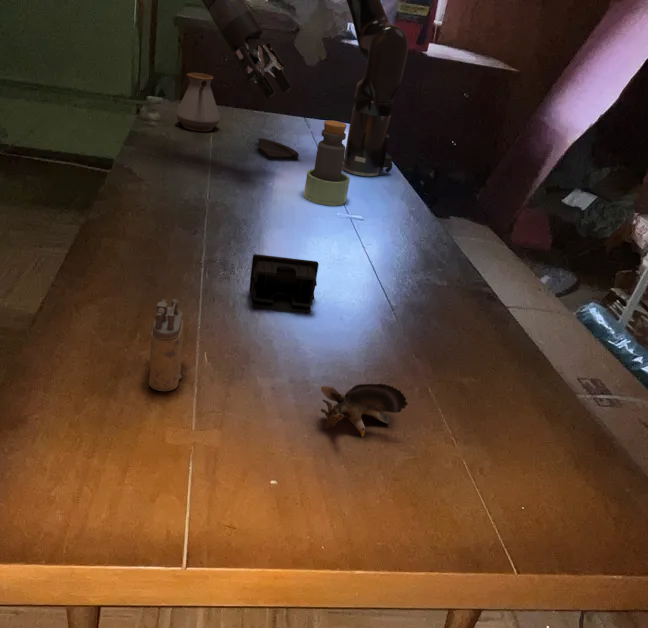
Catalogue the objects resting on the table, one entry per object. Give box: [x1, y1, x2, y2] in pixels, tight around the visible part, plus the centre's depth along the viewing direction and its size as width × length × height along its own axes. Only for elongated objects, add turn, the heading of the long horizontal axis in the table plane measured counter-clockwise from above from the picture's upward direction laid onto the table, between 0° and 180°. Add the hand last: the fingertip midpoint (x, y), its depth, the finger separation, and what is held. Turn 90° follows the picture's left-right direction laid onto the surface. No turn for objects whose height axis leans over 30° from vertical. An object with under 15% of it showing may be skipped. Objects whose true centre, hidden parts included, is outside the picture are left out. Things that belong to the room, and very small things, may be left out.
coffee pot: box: [175, 72, 221, 132], centre depth 185 cm, size 21×12×15 cm, turn 10°
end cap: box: [248, 253, 319, 315], centre depth 112 cm, size 10×7×7 cm
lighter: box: [148, 298, 185, 392], centre depth 88 cm, size 7×4×10 cm, turn 2°
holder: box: [303, 168, 351, 207], centre depth 158 cm, size 9×9×5 cm
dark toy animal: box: [320, 383, 409, 438], centre depth 87 cm, size 8×7×9 cm
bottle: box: [313, 120, 347, 182], centre depth 155 cm, size 6×6×15 cm
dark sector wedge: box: [257, 138, 300, 161], centre depth 183 cm, size 8×14×2 cm, turn 23°
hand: (280, 92), depth 151 cm, fingers open, 8 cm apart
